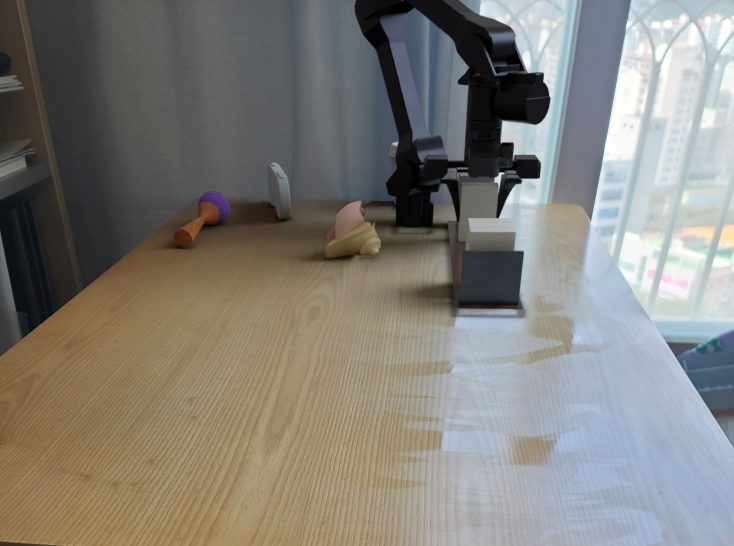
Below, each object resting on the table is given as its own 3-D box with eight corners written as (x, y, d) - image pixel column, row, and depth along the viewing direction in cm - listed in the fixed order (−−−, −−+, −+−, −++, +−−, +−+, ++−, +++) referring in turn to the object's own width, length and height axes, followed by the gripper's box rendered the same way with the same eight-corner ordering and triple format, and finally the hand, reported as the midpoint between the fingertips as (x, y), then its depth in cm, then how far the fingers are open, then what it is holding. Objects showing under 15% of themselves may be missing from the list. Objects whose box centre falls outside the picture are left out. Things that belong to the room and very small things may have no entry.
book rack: (455, 315, 101) (458, 255, 96) (447, 226, 140) (449, 180, 136) (522, 316, 100) (529, 255, 95) (495, 226, 140) (499, 180, 135)
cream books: (465, 298, 103) (470, 231, 98) (463, 282, 109) (467, 217, 104) (509, 299, 103) (516, 231, 98) (504, 282, 109) (511, 218, 104)
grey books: (456, 229, 134) (460, 175, 129) (456, 222, 138) (459, 170, 133) (490, 229, 134) (494, 175, 129) (488, 222, 138) (492, 170, 133)
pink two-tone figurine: (395, 256, 126) (389, 225, 117) (346, 290, 126) (337, 262, 117) (365, 217, 128) (356, 184, 119) (317, 251, 128) (305, 220, 119)
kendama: (161, 224, 128) (199, 189, 143) (173, 258, 131) (209, 221, 147) (192, 218, 126) (228, 184, 142) (204, 252, 130) (237, 216, 145)
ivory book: (458, 241, 127) (461, 185, 122) (457, 237, 129) (461, 182, 124) (493, 241, 127) (498, 185, 122) (492, 238, 129) (497, 182, 124)
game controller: (293, 223, 144) (290, 176, 139) (281, 223, 143) (278, 177, 139) (279, 201, 160) (277, 159, 155) (269, 202, 159) (266, 159, 155)
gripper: (424, 126, 112) (421, 233, 121) (551, 125, 111) (538, 234, 119) (425, 116, 121) (421, 216, 130) (541, 116, 120) (530, 217, 128)
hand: (476, 221), depth 127 cm, fingers closed on ivory book, 6 cm apart
